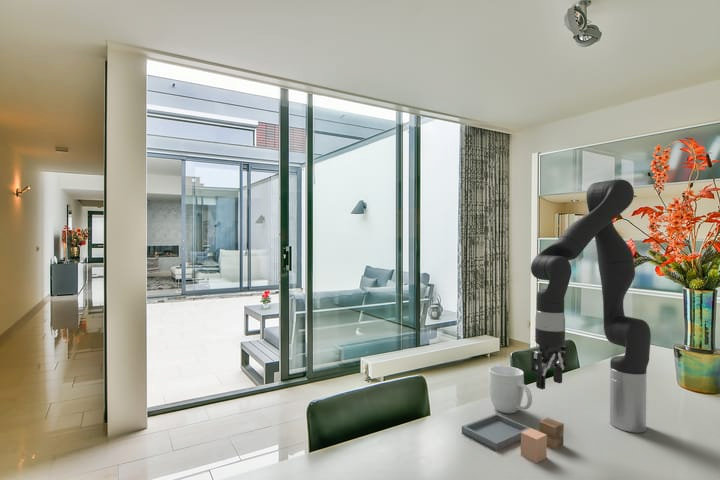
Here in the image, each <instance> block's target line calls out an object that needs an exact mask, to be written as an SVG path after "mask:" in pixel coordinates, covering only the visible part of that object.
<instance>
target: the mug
mask: <svg viewBox="0 0 720 480" xmlns="http://www.w3.org/2000/svg"><path fill="white" fill-rule="evenodd" d="M524 374H525V373H524V371H523V370H522V369H520V368H517V367H513V366H509V365H493V366H490V367H489V368H488V391H489V397H490V401H491V403H492V405H493V408H495V410H496V411H498V412H500V413H501V414H510V415H511V414H514V413H516V412H517V411H518V410H522V411H525V410H527V409H529V408H530V407H532V403H533V395H532V391H531V390H530V388H529V387H528V386H527V385H526V384H525V382H524V381H525V379H524V377H525V375H524ZM524 391H525V393H526V396H527V403H526V405H525V406H521V404H522V402H523V401H522V400H523V396H524Z"/></svg>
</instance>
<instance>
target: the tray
mask: <svg viewBox="0 0 720 480" xmlns="http://www.w3.org/2000/svg"><path fill="white" fill-rule="evenodd" d="M530 428H531V427H529V426H527V425H524V424H522V423H520V422H518V421H515V420H514V419H510V418H508V417H506V416H504V415H502V414H499V413H493V414H490V415H488V416H485V417H483V418H480V419H478V420H475V421H472V422H469V423H467V424H464V425H461V434H463V435H464V436H466V437H469V438H470V439H472V440H473V441H474V440H475V441H477V442H478V443H480V444H482V445H484V446H486V447H488V448H489V449H492V450H493V451H495V452H498V451H500V450H502V449H504V448H506V447H508V446H511V445H513V444H514V443H517V442H519V441H520V442H521V432H523V431H525V430H528V429H530Z"/></svg>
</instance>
